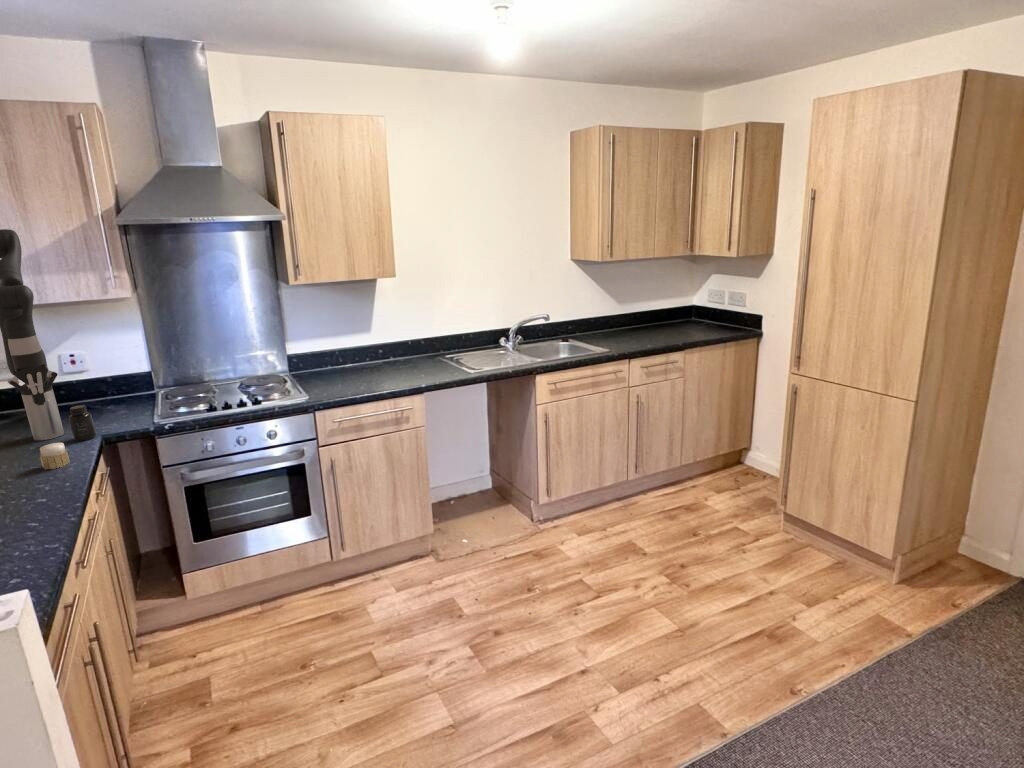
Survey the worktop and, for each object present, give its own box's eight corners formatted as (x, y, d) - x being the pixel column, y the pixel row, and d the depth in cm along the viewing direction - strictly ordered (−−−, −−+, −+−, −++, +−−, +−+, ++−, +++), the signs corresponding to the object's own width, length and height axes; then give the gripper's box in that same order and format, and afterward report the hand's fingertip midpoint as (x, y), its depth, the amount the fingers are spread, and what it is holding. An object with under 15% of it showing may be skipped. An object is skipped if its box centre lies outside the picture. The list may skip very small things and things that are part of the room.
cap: (40, 461, 199) (36, 447, 198) (63, 455, 204) (60, 441, 202) (47, 466, 195) (43, 451, 194) (70, 459, 200) (66, 445, 199)
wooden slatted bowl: (40, 466, 199) (37, 454, 198) (65, 459, 205) (62, 447, 203) (47, 471, 195) (44, 459, 194) (72, 463, 200) (69, 452, 199)
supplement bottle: (100, 434, 227) (93, 403, 224) (89, 441, 221) (81, 409, 217) (81, 435, 227) (74, 404, 224) (69, 442, 220) (61, 410, 217)
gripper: (47, 345, 196) (60, 397, 201) (-5, 354, 187) (11, 408, 191) (55, 348, 192) (68, 401, 197) (2, 357, 182) (18, 412, 187)
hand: (40, 404), depth 194 cm, fingers closed
